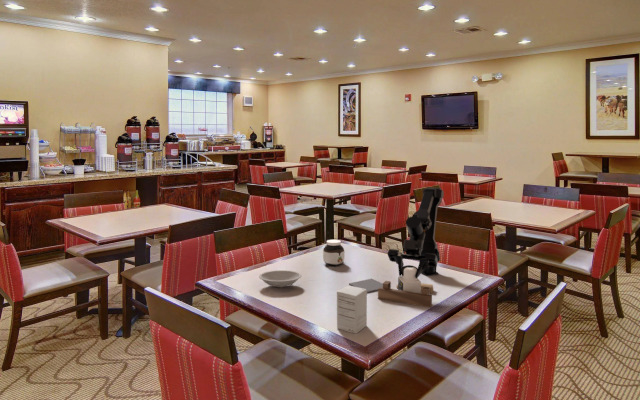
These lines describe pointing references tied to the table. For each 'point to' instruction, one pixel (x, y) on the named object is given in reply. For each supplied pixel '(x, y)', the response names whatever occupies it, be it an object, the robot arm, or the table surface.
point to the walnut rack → (405, 295)
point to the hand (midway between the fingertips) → (407, 276)
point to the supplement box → (351, 309)
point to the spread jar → (333, 253)
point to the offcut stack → (425, 286)
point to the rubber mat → (368, 285)
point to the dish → (280, 277)
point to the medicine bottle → (409, 280)
